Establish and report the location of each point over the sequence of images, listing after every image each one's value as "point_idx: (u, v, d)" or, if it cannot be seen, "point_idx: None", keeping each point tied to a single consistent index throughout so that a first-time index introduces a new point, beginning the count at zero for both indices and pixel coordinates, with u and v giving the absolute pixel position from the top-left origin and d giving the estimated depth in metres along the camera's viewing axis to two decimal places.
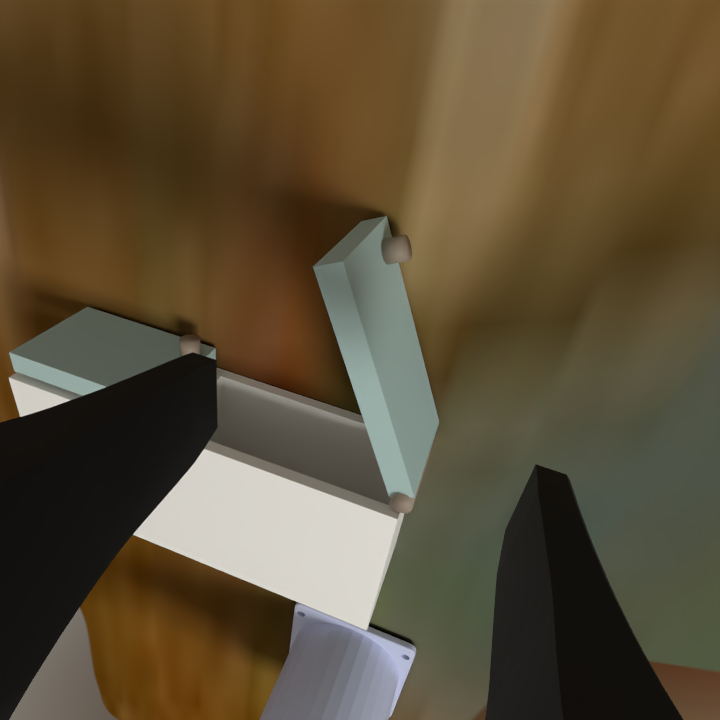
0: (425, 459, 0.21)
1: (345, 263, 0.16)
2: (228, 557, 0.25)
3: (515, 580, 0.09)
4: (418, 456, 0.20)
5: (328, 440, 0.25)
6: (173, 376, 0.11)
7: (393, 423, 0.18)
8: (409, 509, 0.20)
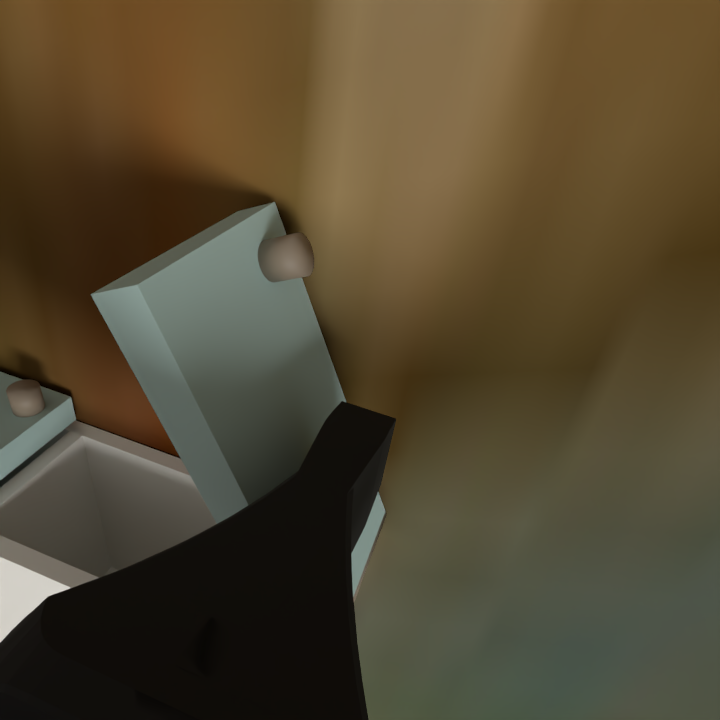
0: (355, 584, 0.13)
1: (145, 287, 0.08)
2: None
3: None
4: None
5: None
6: (370, 443, 0.10)
7: None
8: None
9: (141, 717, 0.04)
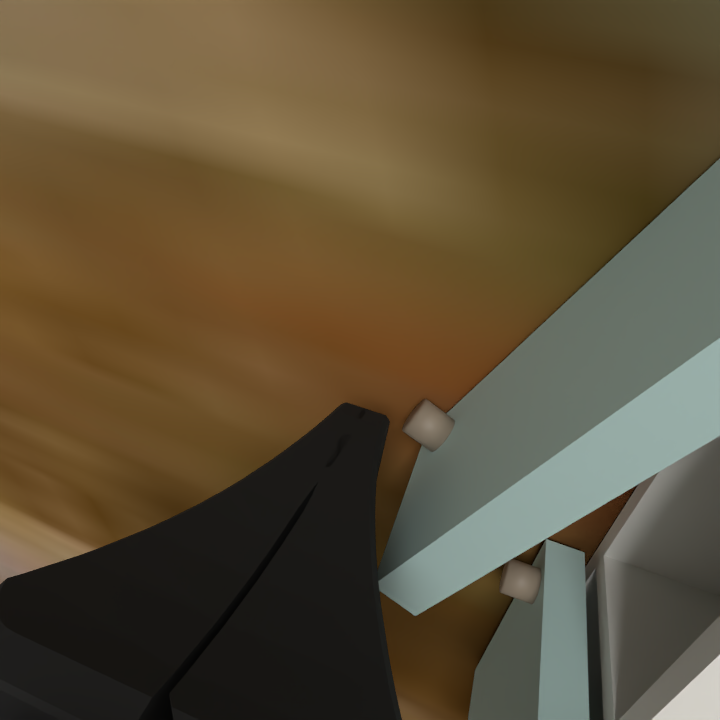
0: None
1: None
2: None
3: None
4: None
5: None
6: (344, 434, 0.10)
7: (631, 395, 0.06)
8: None
9: None
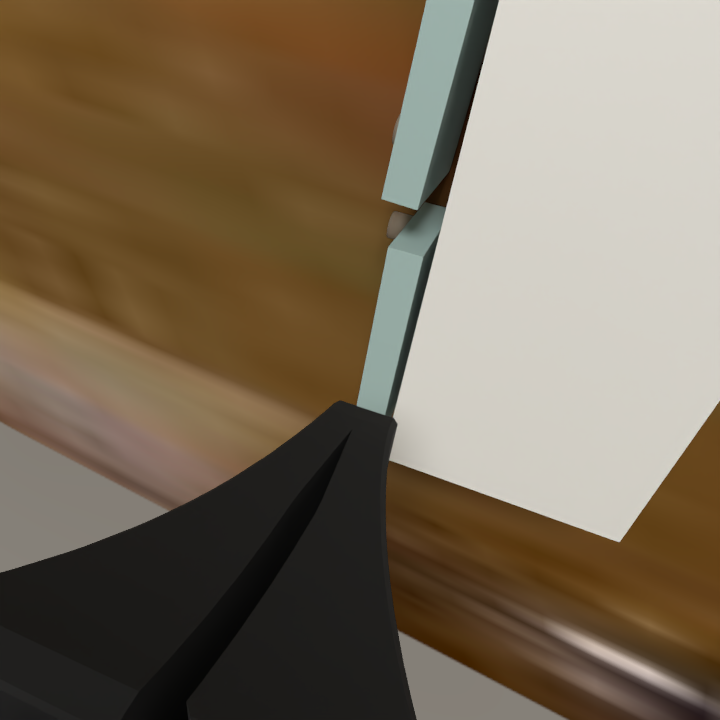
0: None
1: (383, 193, 0.14)
2: None
3: None
4: None
5: None
6: (337, 432, 0.10)
7: None
8: None
9: None
